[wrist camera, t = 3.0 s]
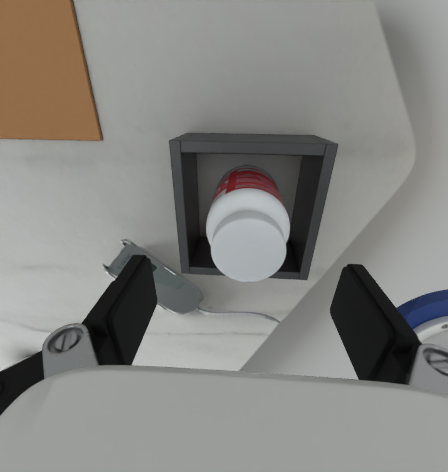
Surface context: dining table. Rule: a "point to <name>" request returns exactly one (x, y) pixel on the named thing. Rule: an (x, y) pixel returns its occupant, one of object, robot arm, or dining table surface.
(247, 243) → the pill bottle
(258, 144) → the bin
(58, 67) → the cork mat
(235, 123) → the dining table surface
